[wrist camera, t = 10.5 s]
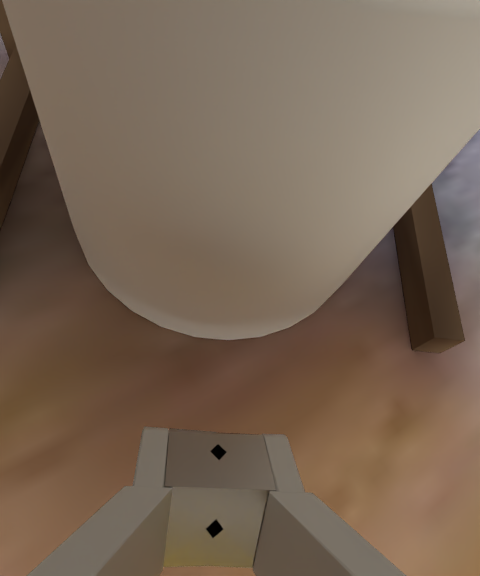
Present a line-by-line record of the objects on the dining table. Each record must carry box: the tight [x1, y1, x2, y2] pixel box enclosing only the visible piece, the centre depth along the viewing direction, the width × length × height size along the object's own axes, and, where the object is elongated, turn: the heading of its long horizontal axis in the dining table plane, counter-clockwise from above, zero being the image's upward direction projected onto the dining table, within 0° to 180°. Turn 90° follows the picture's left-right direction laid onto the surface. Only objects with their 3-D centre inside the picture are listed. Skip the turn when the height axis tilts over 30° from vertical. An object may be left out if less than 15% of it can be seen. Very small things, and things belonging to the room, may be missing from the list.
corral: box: [0, 0, 465, 353], centre depth 17 cm, size 20×13×3 cm, turn 88°
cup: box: [2, 0, 480, 340], centre depth 12 cm, size 12×12×12 cm
